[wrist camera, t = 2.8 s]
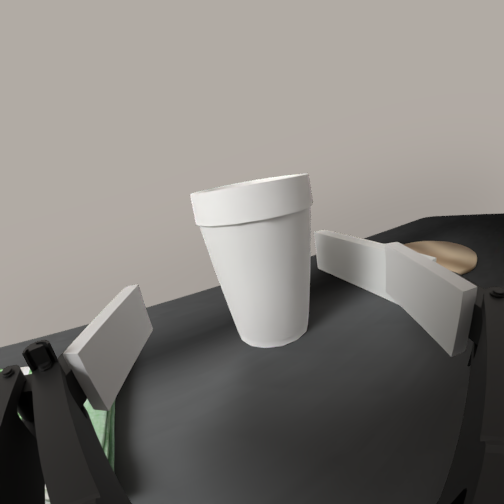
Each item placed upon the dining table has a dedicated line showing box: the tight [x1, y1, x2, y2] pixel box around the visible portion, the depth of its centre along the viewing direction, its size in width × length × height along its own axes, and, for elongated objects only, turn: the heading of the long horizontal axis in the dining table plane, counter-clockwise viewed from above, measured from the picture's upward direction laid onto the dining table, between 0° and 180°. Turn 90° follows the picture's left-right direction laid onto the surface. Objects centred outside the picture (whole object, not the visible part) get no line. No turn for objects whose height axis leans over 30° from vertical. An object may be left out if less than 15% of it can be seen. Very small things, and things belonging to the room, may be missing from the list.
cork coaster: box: [404, 241, 477, 275], centre depth 33 cm, size 13×13×1 cm
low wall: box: [314, 230, 436, 305], centre depth 30 cm, size 2×18×5 cm, turn 21°
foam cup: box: [190, 174, 313, 348], centre depth 24 cm, size 10×9×13 cm
